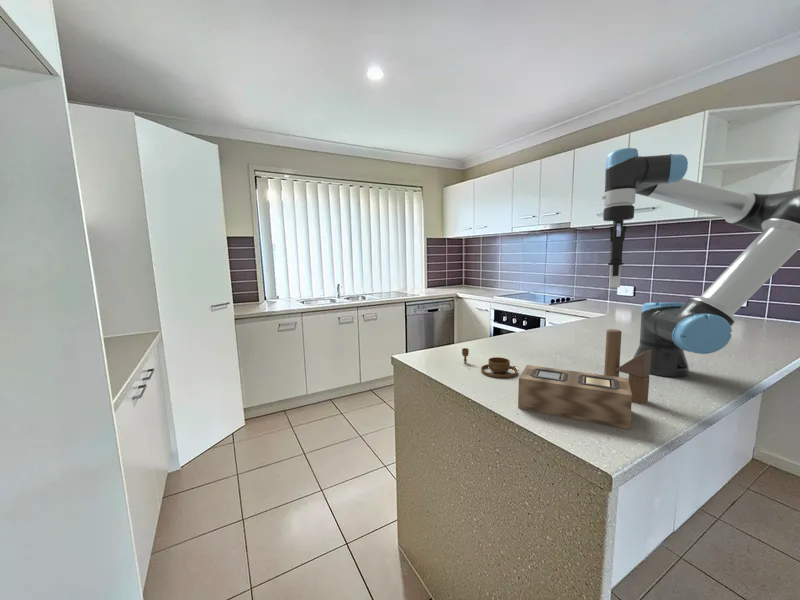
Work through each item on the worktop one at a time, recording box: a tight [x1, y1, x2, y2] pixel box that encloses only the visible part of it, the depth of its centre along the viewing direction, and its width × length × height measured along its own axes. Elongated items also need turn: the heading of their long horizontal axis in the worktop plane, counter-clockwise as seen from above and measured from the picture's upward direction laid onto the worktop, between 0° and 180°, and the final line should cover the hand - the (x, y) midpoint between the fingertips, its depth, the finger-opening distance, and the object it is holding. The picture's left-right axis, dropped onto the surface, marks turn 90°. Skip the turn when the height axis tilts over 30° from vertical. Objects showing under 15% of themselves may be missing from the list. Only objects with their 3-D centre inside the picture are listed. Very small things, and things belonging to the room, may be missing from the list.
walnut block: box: [517, 364, 633, 430], centre depth 85 cm, size 24×12×8 cm, turn 60°
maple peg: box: [586, 377, 610, 387], centre depth 82 cm, size 5×5×7 cm
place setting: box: [461, 347, 518, 379], centre depth 117 cm, size 18×20×6 cm
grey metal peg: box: [538, 371, 560, 379], centre depth 88 cm, size 5×5×7 cm
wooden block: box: [603, 328, 652, 405], centre depth 91 cm, size 4×11×18 cm, turn 29°
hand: (614, 286), depth 100 cm, fingers closed
